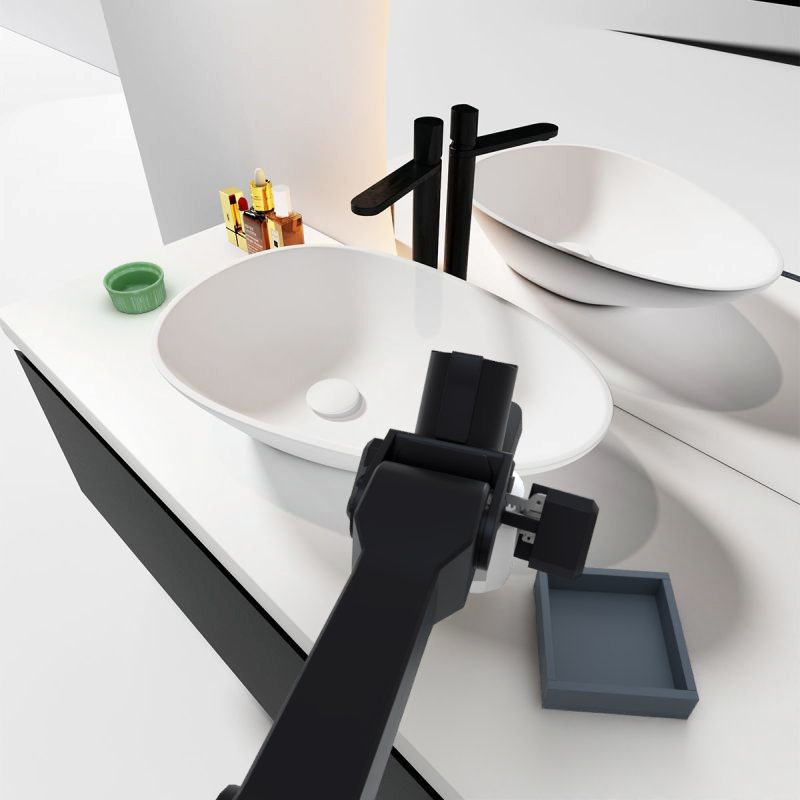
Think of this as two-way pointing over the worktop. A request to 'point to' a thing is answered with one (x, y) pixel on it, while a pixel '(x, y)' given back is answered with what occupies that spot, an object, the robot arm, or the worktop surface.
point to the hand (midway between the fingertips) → (486, 500)
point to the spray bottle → (500, 551)
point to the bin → (613, 644)
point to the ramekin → (136, 286)
